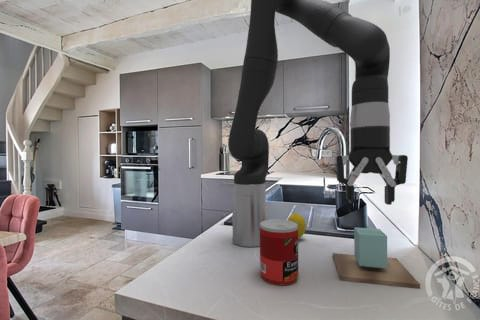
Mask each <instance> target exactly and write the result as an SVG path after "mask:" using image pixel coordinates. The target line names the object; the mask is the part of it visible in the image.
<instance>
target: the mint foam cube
mask: <svg viewBox="0 0 480 320" xmlns="http://www.w3.org/2000/svg"><path fill="white" fill-rule="evenodd" d="M353 231H354V233H353V237H354V238H353V240H354V241H353V243H354V250H353V251H354V252H353V253H354V254H353V255H354V256H355V258H356V260H357V262H358V264H359V266H366V267H378V268H387V257H388V235H387V234H385V232H383V231H382V230H381V229H380V228H373V227H372V228H369V227H354V228H353Z"/></svg>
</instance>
